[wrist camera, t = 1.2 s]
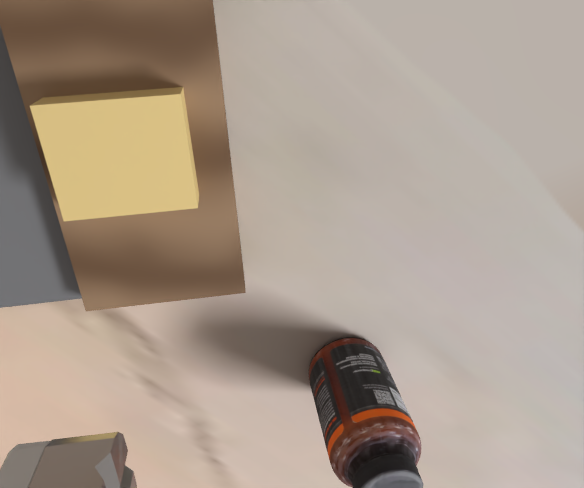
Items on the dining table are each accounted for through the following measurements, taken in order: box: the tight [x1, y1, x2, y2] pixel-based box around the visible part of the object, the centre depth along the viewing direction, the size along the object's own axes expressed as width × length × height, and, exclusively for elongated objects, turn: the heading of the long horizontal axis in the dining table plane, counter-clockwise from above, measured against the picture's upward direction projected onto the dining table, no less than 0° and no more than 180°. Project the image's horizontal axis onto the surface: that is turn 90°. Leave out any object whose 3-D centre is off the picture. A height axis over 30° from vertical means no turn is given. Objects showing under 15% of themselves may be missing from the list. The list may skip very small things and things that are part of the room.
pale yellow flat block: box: [30, 87, 199, 221], centre depth 26 cm, size 6×7×2 cm
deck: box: [0, 0, 246, 311], centre depth 27 cm, size 20×10×2 cm, turn 3°
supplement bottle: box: [309, 338, 423, 488], centre depth 33 cm, size 6×6×11 cm
